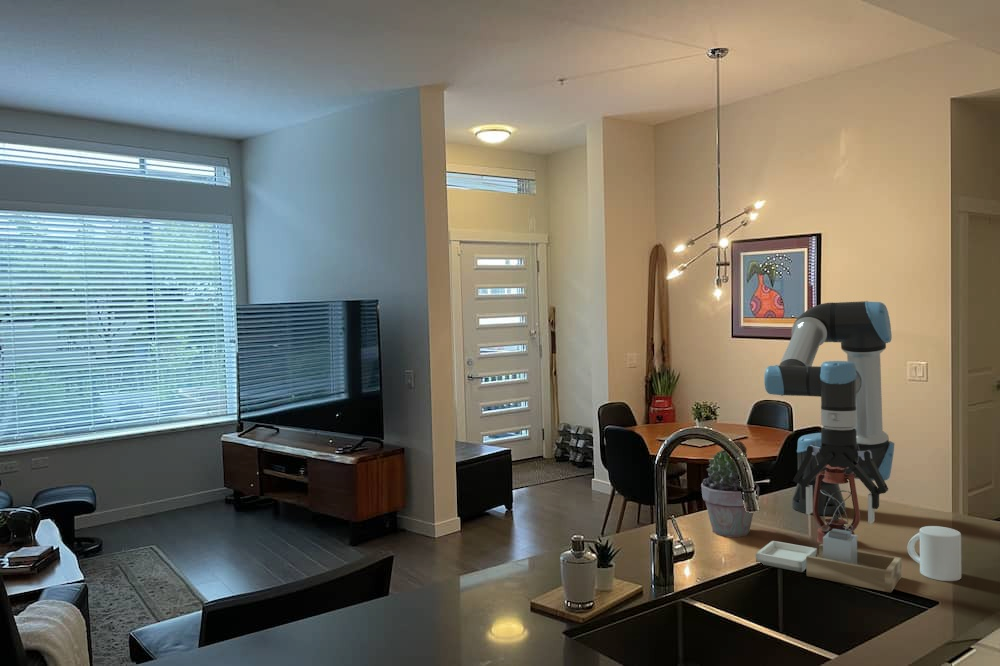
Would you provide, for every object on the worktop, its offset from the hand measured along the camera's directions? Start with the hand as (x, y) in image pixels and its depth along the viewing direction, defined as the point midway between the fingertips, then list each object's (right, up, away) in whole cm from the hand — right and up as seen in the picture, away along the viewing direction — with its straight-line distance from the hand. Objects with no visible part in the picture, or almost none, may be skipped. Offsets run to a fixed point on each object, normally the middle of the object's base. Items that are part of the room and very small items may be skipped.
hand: (839, 517), depth 173 cm
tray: (-8, -13, +10) cm, 19 cm away
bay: (+3, -13, -1) cm, 14 cm away
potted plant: (-15, -13, +34) cm, 39 cm away
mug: (+22, -13, 0) cm, 25 cm away
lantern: (+10, -13, +24) cm, 29 cm away
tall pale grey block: (0, -13, +1) cm, 13 cm away
